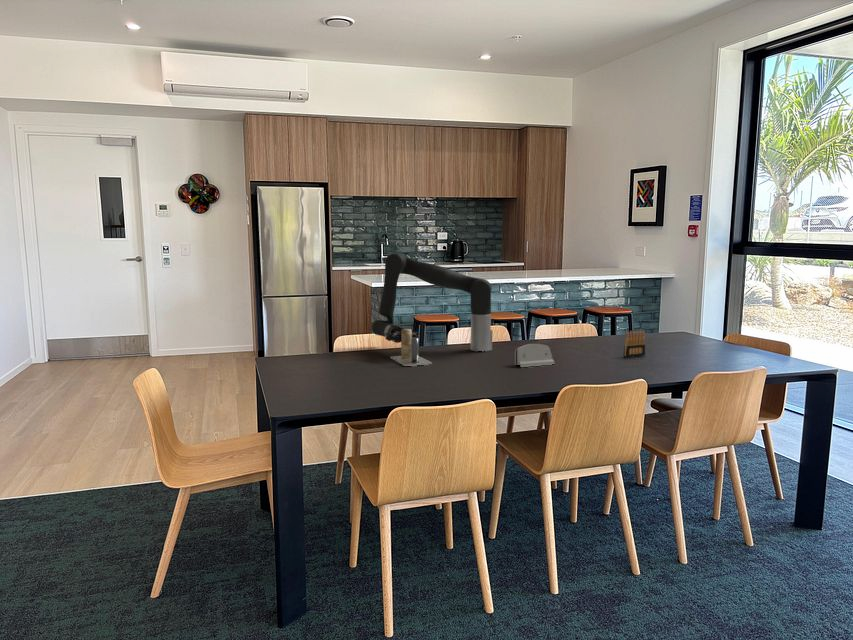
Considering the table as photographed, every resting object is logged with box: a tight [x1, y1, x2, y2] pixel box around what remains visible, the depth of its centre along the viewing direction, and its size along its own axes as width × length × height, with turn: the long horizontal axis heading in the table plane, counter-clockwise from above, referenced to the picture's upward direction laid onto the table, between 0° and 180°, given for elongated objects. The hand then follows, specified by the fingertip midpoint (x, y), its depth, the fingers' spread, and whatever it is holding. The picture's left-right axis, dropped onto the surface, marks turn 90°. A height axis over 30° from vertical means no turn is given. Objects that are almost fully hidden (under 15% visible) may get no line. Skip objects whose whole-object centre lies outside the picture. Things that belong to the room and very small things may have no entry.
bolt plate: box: [390, 337, 433, 367], centre depth 265 cm, size 12×18×11 cm, turn 23°
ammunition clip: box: [623, 328, 646, 358], centre depth 278 cm, size 11×2×12 cm, turn 113°
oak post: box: [400, 328, 413, 358], centre depth 270 cm, size 4×4×12 cm
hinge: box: [514, 343, 556, 368], centre depth 260 cm, size 17×5×10 cm, turn 111°
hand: (407, 338), depth 268 cm, fingers open, 8 cm apart
